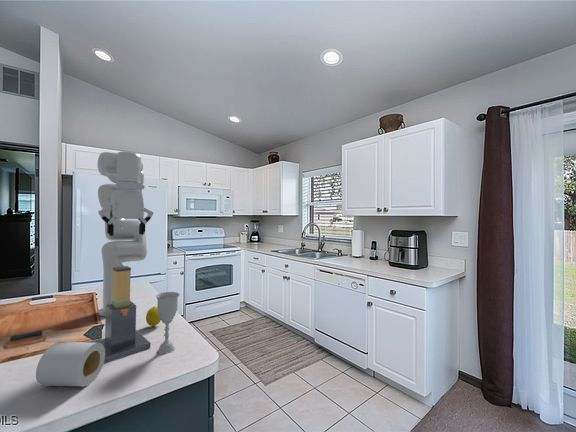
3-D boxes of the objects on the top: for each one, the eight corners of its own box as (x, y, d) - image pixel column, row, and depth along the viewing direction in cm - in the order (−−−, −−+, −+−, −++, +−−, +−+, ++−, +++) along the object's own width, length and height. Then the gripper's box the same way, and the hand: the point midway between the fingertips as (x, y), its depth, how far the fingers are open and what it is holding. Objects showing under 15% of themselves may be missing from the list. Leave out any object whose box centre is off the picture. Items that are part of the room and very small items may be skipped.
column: (111, 324, 88) (112, 267, 88) (125, 321, 91) (127, 265, 91) (114, 328, 85) (116, 269, 85) (129, 324, 88) (131, 267, 88)
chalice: (182, 346, 90) (184, 293, 90) (167, 356, 83) (168, 299, 83) (165, 342, 92) (166, 291, 92) (149, 352, 86) (150, 296, 86)
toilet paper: (35, 394, 65) (36, 353, 65) (68, 370, 75) (69, 335, 75) (76, 395, 65) (77, 354, 65) (104, 371, 75) (105, 336, 75)
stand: (89, 347, 88) (90, 304, 88) (136, 333, 98) (136, 296, 98) (100, 363, 79) (101, 316, 78) (150, 347, 89) (151, 305, 89)
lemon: (155, 330, 102) (155, 309, 101) (142, 329, 103) (142, 308, 103) (164, 324, 107) (165, 304, 107) (152, 323, 108) (152, 303, 108)
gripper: (150, 189, 104) (148, 233, 105) (96, 185, 92) (95, 234, 92) (157, 189, 99) (155, 235, 99) (101, 184, 86) (100, 237, 87)
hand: (126, 234), depth 96 cm, fingers open, 9 cm apart
